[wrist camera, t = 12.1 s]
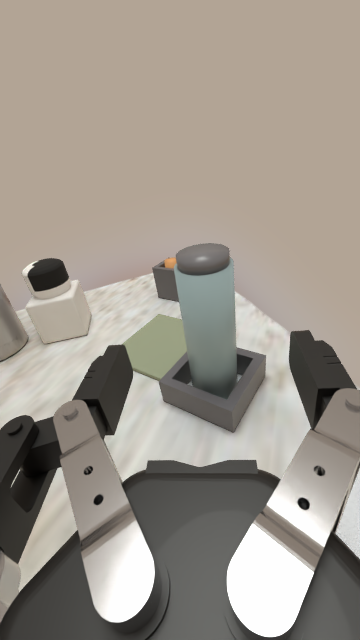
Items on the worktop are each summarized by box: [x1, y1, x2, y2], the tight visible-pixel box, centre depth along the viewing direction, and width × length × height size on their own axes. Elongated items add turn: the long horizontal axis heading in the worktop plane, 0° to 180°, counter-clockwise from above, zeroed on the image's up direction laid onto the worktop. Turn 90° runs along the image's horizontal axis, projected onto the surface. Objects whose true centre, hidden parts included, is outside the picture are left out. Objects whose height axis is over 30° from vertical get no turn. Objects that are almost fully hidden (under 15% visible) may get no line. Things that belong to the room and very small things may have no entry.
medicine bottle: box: [22, 258, 91, 344], centre depth 45 cm, size 7×7×12 cm
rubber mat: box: [122, 314, 187, 381], centre depth 40 cm, size 12×12×1 cm
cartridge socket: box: [159, 347, 266, 433], centre depth 31 cm, size 8×8×3 cm
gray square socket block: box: [152, 260, 179, 301], centre depth 52 cm, size 5×5×6 cm
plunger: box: [164, 258, 177, 269], centre depth 51 cm, size 2×2×6 cm
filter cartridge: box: [174, 243, 238, 400], centre depth 27 cm, size 5×5×16 cm
